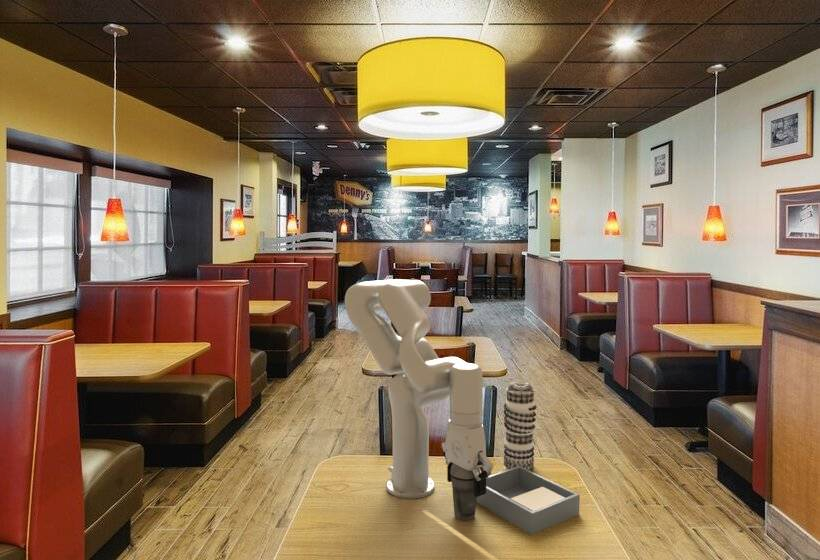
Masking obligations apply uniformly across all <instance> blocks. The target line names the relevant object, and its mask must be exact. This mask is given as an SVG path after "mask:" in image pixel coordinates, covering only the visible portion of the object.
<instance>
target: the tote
mask: <svg viewBox="0 0 820 560" xmlns="http://www.w3.org/2000/svg"><path fill="white" fill-rule="evenodd" d="M540 487H545V488H547V489H549V490H551V491H553V492H555V493H557V494H559V495H561V496H563V497H565V498H564V499H561V500H559V501H556V502H554V503H551V504H549V505H546V506H544V507H541V508H539V509H536V510H534V511H531V510H529V509H528V508H526V507H524V506H522V505H520V504H518V503H517V502H515V501H513V500H511V498H513V497H516V496H519V495H521V494H524V493H527V492H529V491H532V490H535V489H538V488H540ZM580 497H581V495H580V493H578V492H575V491H574V490H571V489H569V488H567V487H565V486H563V485H560V484H558V483H557V482H555V481H552V480H550V479H548V478H545V477H544V476H541V475H540V474H538V473H535V472H534V471H532V470H530V471H529V470H527V469H525V468H523V467H521V466H517V467H514V468H511V469H508V470H501V471H499V472H496V473H493V474H490V475H489V476H488V478H486V494H484V495H481V496H478V497H477V501H476V504H479V506H482V507H483V508H486V509H487V510H488V511H491V512H492V513H494V514H496V515H497V516H498V517H501V518H502V519H504V520H506V521H508V522H509V523H511V524H512V525H514V526H515V527H518V528H520V529H521V530H523V531H524V532H527V533H528V534H530V535H531V536H533V535H535V534H537V533H540V532H542V531H544V530H548V529H549V528H552V527H554V526H556V525H558V524H561V523H562V522H566V521H568V520H570V519H573V518H575V517H577V516H579V515H580V502H581V501H580V499H581V498H580Z"/></svg>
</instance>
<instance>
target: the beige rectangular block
mask: <svg viewBox="0 0 820 560" xmlns="http://www.w3.org/2000/svg"><path fill="white" fill-rule="evenodd" d="M564 498H565V497H563V496H561V495H559V494H557V493H555V492H553V491H551V490H549V489H547V488H545V487H540V488H538V489H535V490H532V491H529V492H527V493H524V494H521V495H519V496H516V497H513V498H511V500H513V501H515V502H517V503H518V504H520V505H522V506H524V507H526V508H528V509H529V510H531V511H534V510H536V509H539V508H541V507H544V506H546V505H549V504H551V503H554V502H556V501H559V500H561V499H564Z"/></svg>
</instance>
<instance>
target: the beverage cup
mask: <svg viewBox="0 0 820 560" xmlns="http://www.w3.org/2000/svg"><path fill="white" fill-rule="evenodd" d="M477 470H478V472H479V474H480V473H481V470H480V469H477ZM450 476H451V482H450V483H451V485H452V486H451V488H452V499H453V500H452V501H453V510H454V511H453V513H454V518H455V519H457V521H460V522H471V521H473V520H474V519H475V516H476V509H477V502H476V501H477V497H475V496H474V480H475V479H476V478H475V475H474V473H473V471H468V470H465V469H463V468H461V467H460V466H458V465H456V464H454V463H453V464H452V466H451V471H450Z"/></svg>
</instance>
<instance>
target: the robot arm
mask: <svg viewBox="0 0 820 560" xmlns="http://www.w3.org/2000/svg"><path fill="white" fill-rule="evenodd" d="M431 300H432V296H431V290H430V288H429V287H428V286H427V284H426V283H425V282H423V281H421V280H419V279H401V278H399V279H398V278H395V279H381V280H369V281H362V282H358V283H354V284H353V285H351V286H349V288H348V289H347V290H346V293H345V295H344V307H345V311H346V314H347V318H348V319H349V321H350V323H351V324H352V326H353V328H355V330H356V331H357V332H358V333H359V334H360V336H361V337H362V339H363V340H364V342H365V343H366V346H367V348H368V349H369V351H370V353H371V354H372V356H373V358H374V360H375V362H376V364H377V365H378V367H379V369H380V370H381V371H382V372H383V373H384V374H385V375H389V376H391V375H395V376H394V377H392V378H391V379H390V381H389V384H388V388H387V389H388V390H387V391H388V397H389V398H388V399H389V402H390V409H391V421H392V424H391V425H392V427H391V428H392V464H391V465H389V466H388V468H387V470H388V471H389V472H390V473H391V478H390V479H389V480H388V481H387V483H386V490H387V492H389V494H391V495H392V496H395V497H398V498H401V499H410V500H411V499H413V500H414V499H420V498H424V497H427V496H429V495H430V494H432V493H433V492H434V491H435V483H434V481H433V480H432V478H430V477H429V467H430V465H429V464H430V463H429V456H430V454H429V447H430V446H429V445H430V441H429V439H430V438H429V437H430V435H429V430H430V429H429V427H430V426H429V425H430V424H429V421H428V418H427V416H426V415H425V413H424V411H423V410H422V407H425V406H427V405H431V404H434V403H438V402H439V403H440V402H442V401H445V400H446V399H448V398H449V419H448V421H447V426H446V432H445V441H444V442H442V443H441V449H442V451H443V456H444V459H445V465H446V466H447V467H446V468H447V469H446V470H447V471H446V472H447V473H446V476H447V477H446V478H447V482H448V483H452V482H451V476H450V471H451V466H452V464H453V463H454V464H456V465H458V466H460V467H461V468H463V469H465V470H468V471H473V473H474V475H475V478H476V479H475V480H474V496H475V497H478V496H481V495H484V494H486V478H488V476H490V475H492V471H493V469H494V464H493V462H492V461H491V460H490V459H489V458H488V457H487V445H486V436H485V435H486V434H485V428H484V425H483V370H482V367H481V366H480V365H478V364H476V363H471V362H466V361H465V360H464V359H461V358H459V357H457V356H447V357H442V358H440V357H439V356H438V354H437V353H436V351H435V349H434V348H433V346H432V345H431V343H430V342H429V341H428V340H427V339H425V336H426V335H427V334H428V333H429V331H430V328H431V326H432V325H431V321H430V320H431V319H429V317H428V316H427V314H426V313H425V312H424V310H426V309H427V308H428V307H429V306H430V304H431ZM379 311H384V312H385V314H386V316H387V317H388V319H389V321H390V322H391V323H390V322H389V321H388V320H387V318H385V317H383V316H381V315H380V314H378V313H377V312H379ZM393 327H394V328H393ZM395 330H396V331H395ZM397 333H398V334H397ZM477 469H479V470H480V474H479V472H478V470H477Z"/></svg>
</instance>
